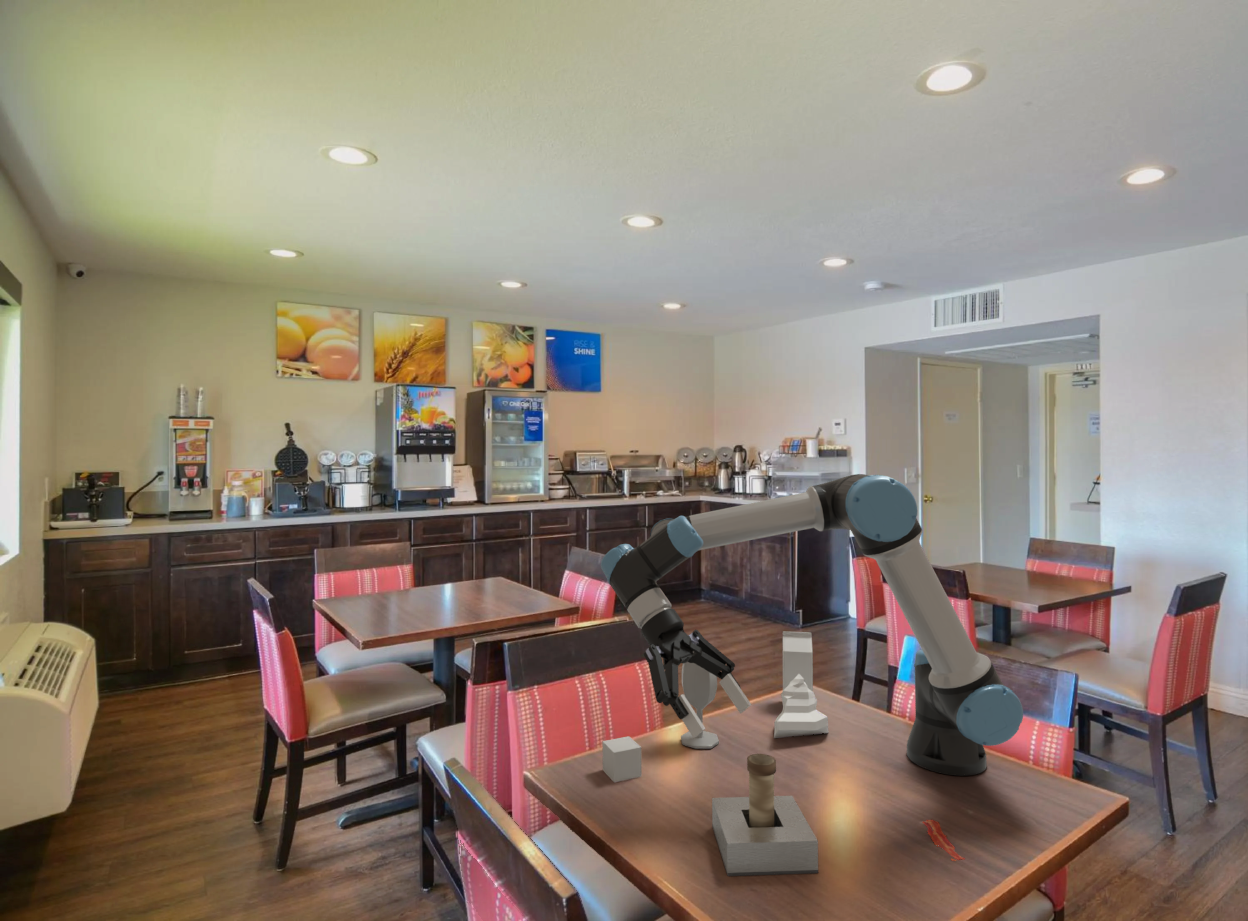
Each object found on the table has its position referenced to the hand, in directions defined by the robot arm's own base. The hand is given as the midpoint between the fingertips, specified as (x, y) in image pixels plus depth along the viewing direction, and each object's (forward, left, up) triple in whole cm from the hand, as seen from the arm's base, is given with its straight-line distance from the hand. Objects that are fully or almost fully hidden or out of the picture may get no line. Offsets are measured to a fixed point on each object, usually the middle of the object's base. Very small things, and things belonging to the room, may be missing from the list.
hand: (723, 721), depth 118 cm
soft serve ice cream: (-24, -39, -19) cm, 50 cm away
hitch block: (-5, +6, -19) cm, 20 cm away
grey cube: (+17, -22, -19) cm, 34 cm away
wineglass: (-1, -36, -19) cm, 41 cm away
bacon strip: (-36, +3, -19) cm, 41 cm away
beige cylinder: (-5, +6, -18) cm, 20 cm away
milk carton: (-29, -56, -19) cm, 66 cm away
